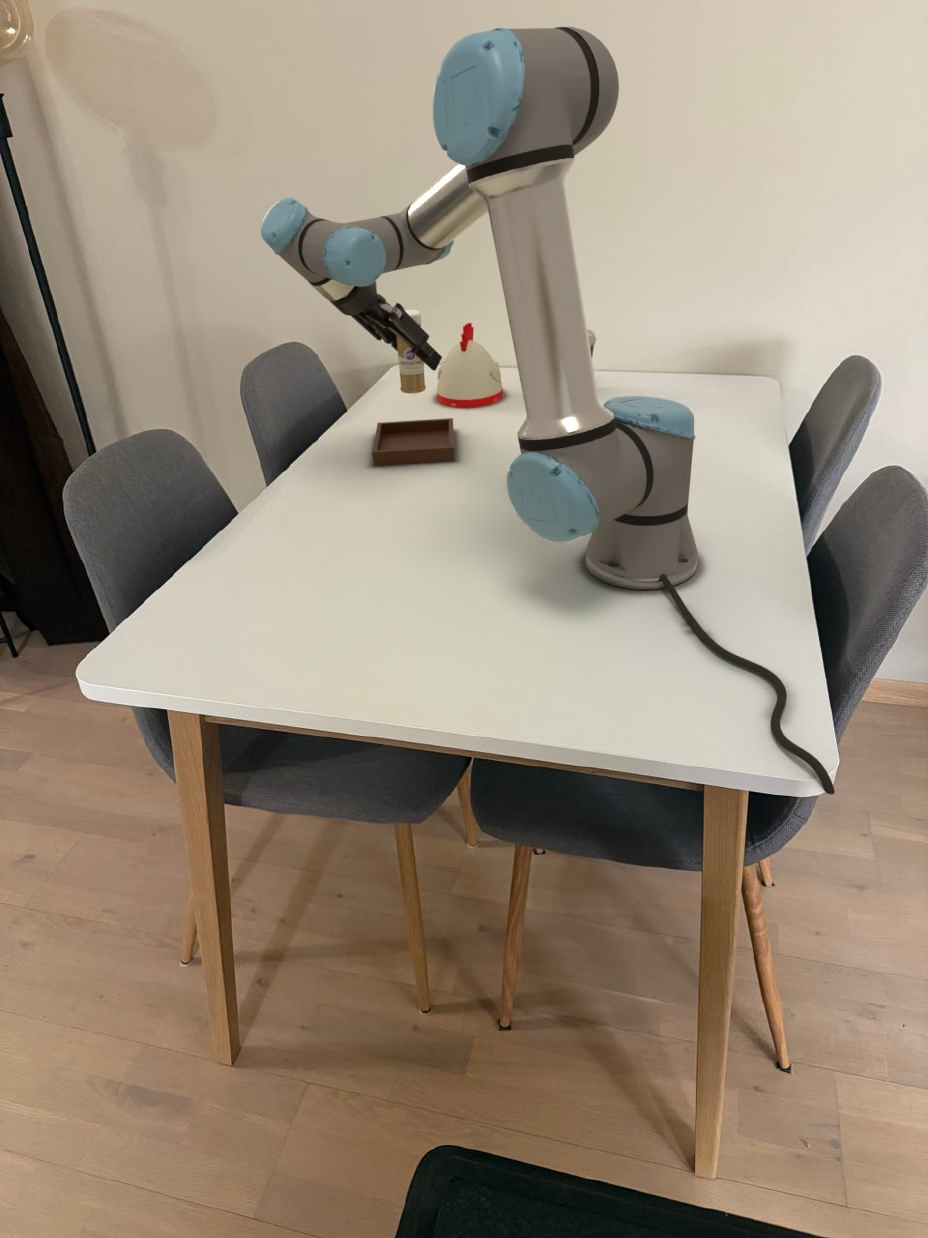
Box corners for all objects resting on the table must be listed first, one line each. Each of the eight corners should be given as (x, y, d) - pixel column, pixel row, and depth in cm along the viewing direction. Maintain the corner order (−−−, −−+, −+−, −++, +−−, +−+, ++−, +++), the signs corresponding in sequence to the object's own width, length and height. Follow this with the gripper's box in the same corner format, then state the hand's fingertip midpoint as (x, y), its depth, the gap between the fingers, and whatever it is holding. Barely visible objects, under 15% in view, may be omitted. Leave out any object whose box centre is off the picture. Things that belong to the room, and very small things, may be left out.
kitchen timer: (508, 387, 197) (506, 316, 189) (494, 408, 185) (491, 334, 178) (447, 385, 200) (442, 316, 192) (430, 406, 189) (424, 333, 181)
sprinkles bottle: (404, 395, 157) (397, 316, 150) (397, 388, 161) (390, 310, 153) (429, 392, 158) (423, 313, 151) (422, 384, 162) (416, 307, 154)
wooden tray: (454, 460, 162) (453, 447, 161) (373, 465, 163) (372, 452, 161) (453, 430, 176) (452, 417, 174) (379, 435, 176) (377, 422, 174)
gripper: (392, 265, 136) (472, 349, 154) (319, 255, 146) (403, 335, 165) (369, 309, 135) (452, 388, 154) (298, 296, 146) (384, 371, 164)
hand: (427, 361), depth 159 cm, fingers closed on sprinkles bottle, 4 cm apart
